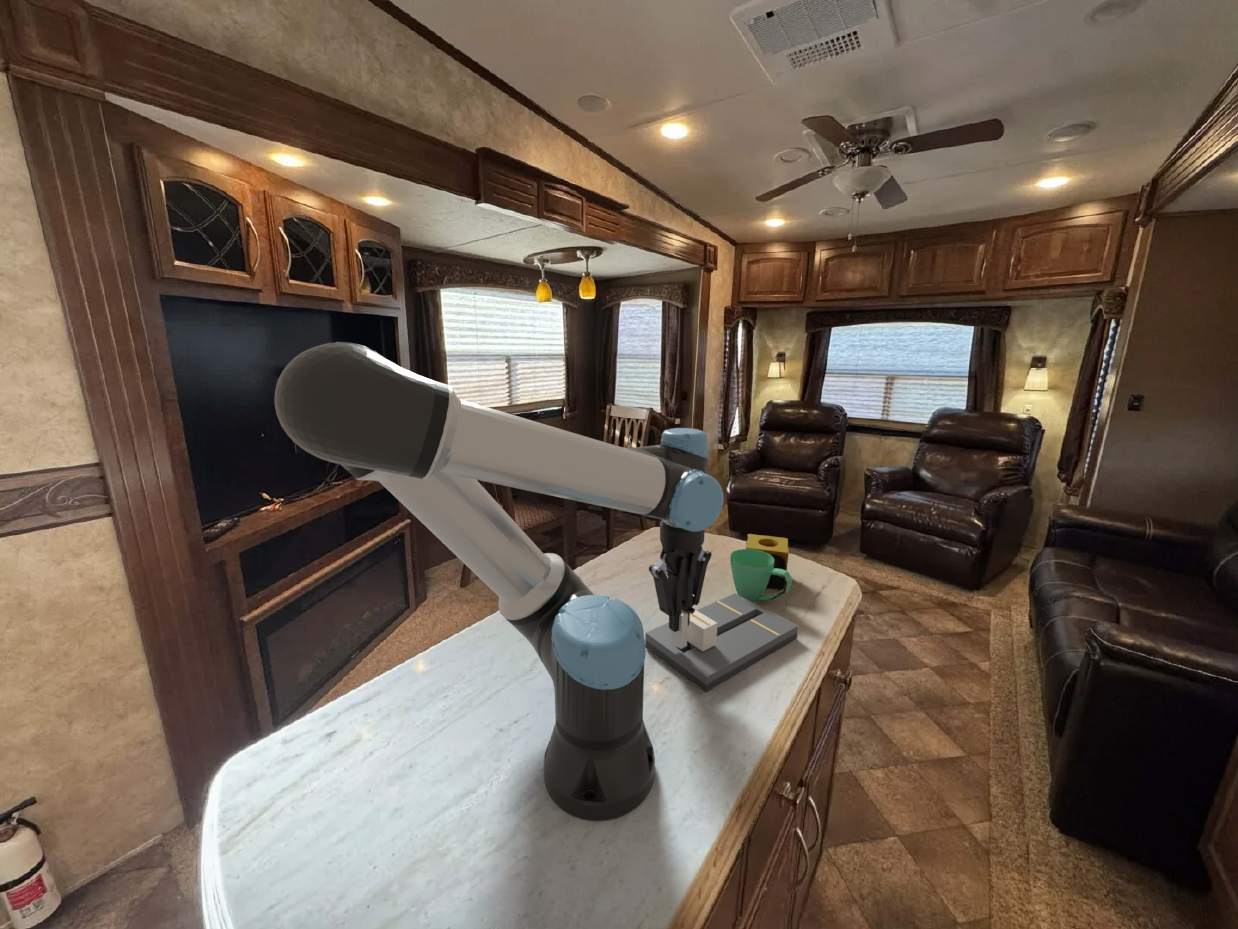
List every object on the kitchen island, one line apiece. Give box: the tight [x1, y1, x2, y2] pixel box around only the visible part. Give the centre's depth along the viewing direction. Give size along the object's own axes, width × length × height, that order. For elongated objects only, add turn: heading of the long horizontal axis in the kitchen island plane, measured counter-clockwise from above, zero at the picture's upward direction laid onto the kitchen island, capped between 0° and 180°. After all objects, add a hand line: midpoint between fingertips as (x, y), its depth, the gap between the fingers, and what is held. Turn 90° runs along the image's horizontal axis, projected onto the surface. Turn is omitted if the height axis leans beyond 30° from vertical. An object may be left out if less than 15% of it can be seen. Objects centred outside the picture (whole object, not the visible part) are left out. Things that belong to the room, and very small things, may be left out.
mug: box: [729, 548, 793, 603], centre depth 110 cm, size 15×10×10 cm
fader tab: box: [687, 609, 717, 651], centre depth 90 cm, size 4×6×6 cm, turn 37°
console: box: [644, 593, 799, 693], centre depth 95 cm, size 26×16×3 cm, turn 127°
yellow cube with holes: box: [745, 533, 790, 591], centre depth 120 cm, size 10×10×10 cm
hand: (678, 643), depth 87 cm, fingers closed
